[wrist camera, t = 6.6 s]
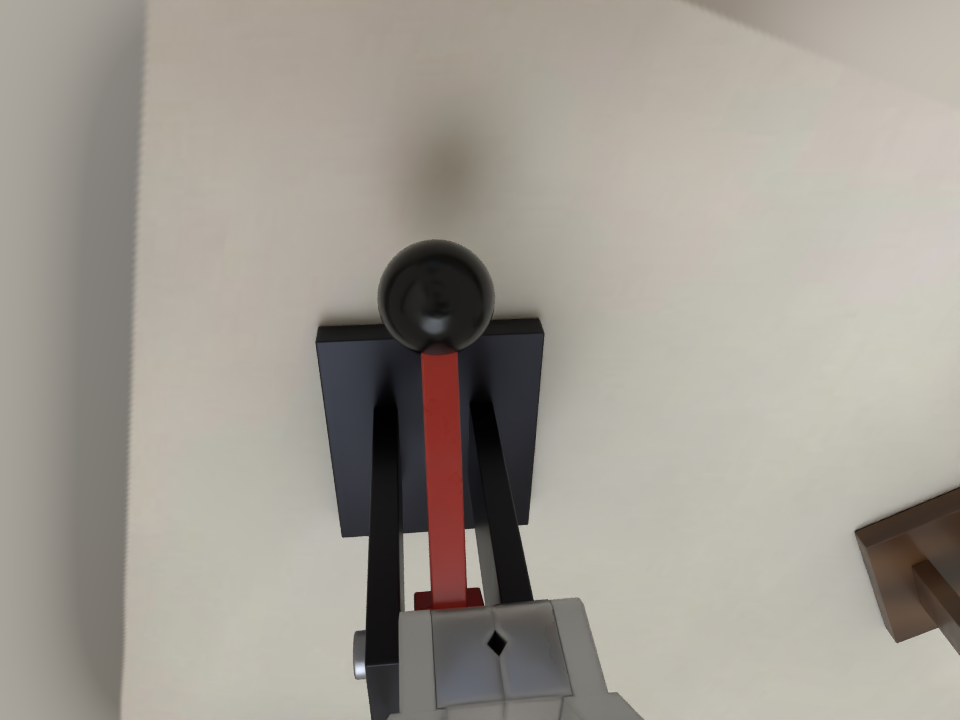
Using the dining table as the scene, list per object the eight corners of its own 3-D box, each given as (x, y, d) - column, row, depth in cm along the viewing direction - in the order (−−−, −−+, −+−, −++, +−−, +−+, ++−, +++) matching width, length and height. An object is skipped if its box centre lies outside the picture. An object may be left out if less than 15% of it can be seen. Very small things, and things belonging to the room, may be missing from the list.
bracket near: (318, 326, 27) (270, 594, 16) (539, 317, 28) (630, 566, 17) (343, 519, 33) (320, 806, 22) (524, 507, 34) (585, 777, 23)
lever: (377, 248, 22) (371, 233, 19) (485, 245, 23) (500, 230, 19) (396, 666, 23) (394, 729, 19) (501, 656, 23) (517, 716, 20)
